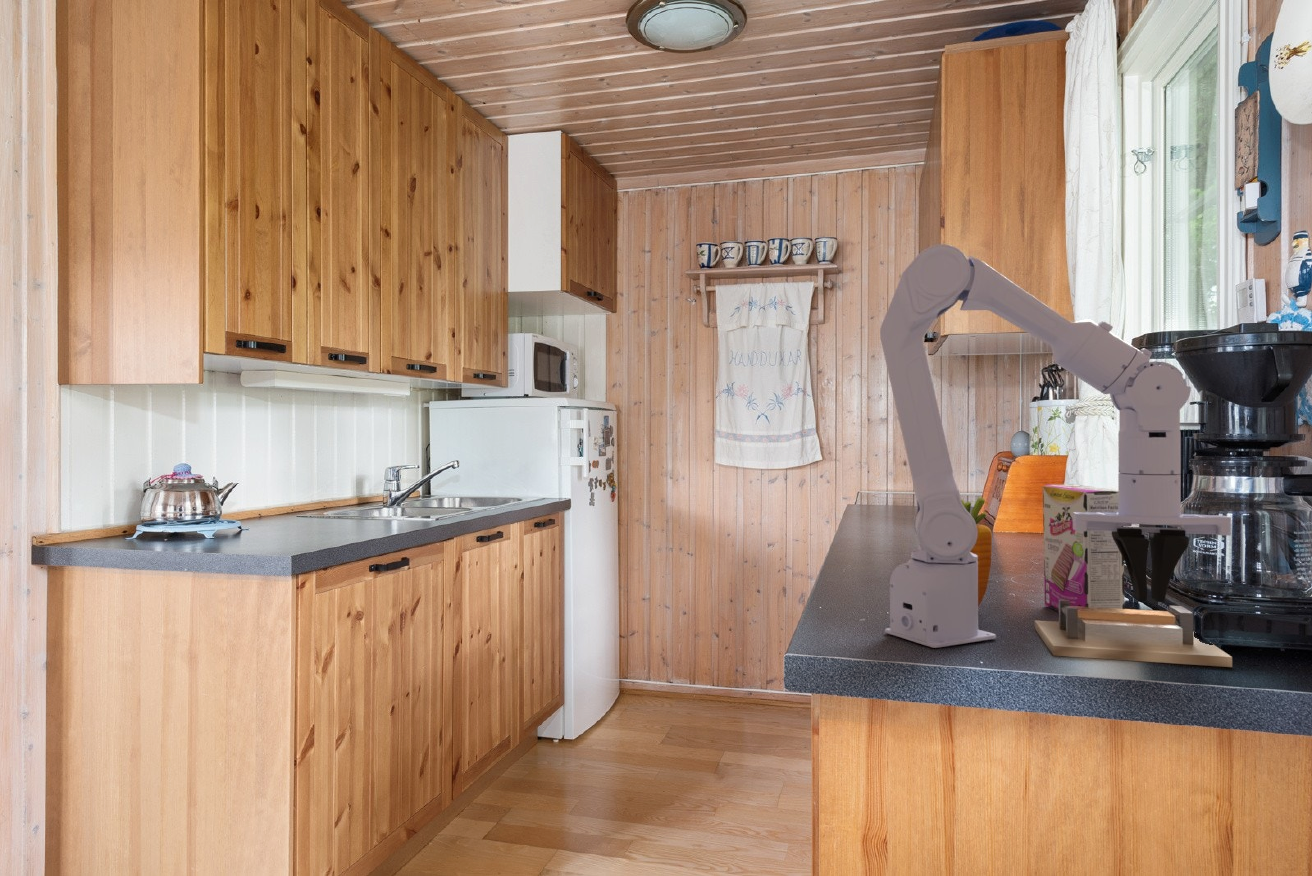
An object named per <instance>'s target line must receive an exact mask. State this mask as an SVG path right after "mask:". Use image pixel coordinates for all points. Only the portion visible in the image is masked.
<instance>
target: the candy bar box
mask: <svg viewBox="0 0 1312 876" xmlns="http://www.w3.org/2000/svg"><path fill="white" fill-rule="evenodd" d="M1073 512H1119V507H1118V490H1117V489H1109V488H1102V487H1095V486H1088V485H1082V484H1081V485H1080V484H1046V485H1042V513H1043V514H1042V515H1043V516H1042V517H1043V520H1042V521H1043V522H1042V523H1043V565H1044V568H1043V569H1044V571H1043V575H1044V577H1043V578H1044V606H1046V607H1048V608H1051V609H1053V610H1055V611H1056V612H1058V613H1059V599H1060V600H1069V601H1070V606H1080V607H1098V608H1116V609H1126V607H1125V601H1126V600H1125V562H1124V559H1123V557H1122V555H1121V553H1120V551H1119V549H1118V547H1117V545H1116V543H1115V541H1114V540H1113V537H1112V531H1076V530H1074V529H1073ZM1119 527H1125V526H1119Z"/></svg>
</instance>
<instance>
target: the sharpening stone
mask: <svg viewBox="0 0 1312 876" xmlns="http://www.w3.org/2000/svg"><path fill="white" fill-rule="evenodd" d="M1064 605H1067V606H1070V601H1069V600H1060V599H1059V612H1058V622H1059V629H1060V630H1066V637H1067V639H1078V635H1079V636H1080V637H1081V638H1082V639H1083V640H1084V641H1085V642H1090V643H1107V644H1123V645H1140V646H1156V647H1173V648H1183V644H1187V645H1194V632H1195V631H1194V629H1195V628H1194V613H1193V612H1192V611H1190V610H1189V609H1187V608H1185V607H1184V606H1183V605H1169V606H1168V612H1169V613H1171V614H1172V615H1174V616H1175V624H1171V623H1152V622H1134V621H1117V620H1100V619H1083V618H1078V609H1077V608H1076V607H1066V615H1065V614H1064V613H1063V612H1062V610H1061V608H1062V607H1063V606H1064Z"/></svg>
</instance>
